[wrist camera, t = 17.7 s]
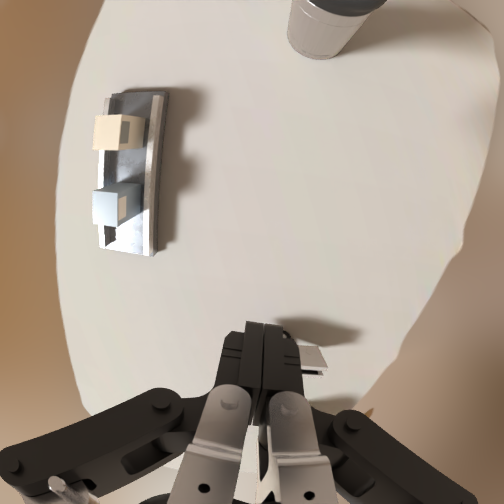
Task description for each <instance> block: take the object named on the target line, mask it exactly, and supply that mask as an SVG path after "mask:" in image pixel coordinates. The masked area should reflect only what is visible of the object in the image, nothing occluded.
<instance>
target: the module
mask: <svg viewBox="0 0 504 504" xmlns="http://www.w3.org/2000/svg"><path fill="white" fill-rule="evenodd" d="M140 200H141V184H134V183H122V182H118V183H114V184H111V185H108V186H105V187H102V188H99V189H97V190H94V191H93V224H99V225H106V226H112V227H119V226H120V225H122V224H123V223H125V222H127V221H128V220H130V219H132V218H133V217H135V216H137V215H138V214H140Z"/></svg>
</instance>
